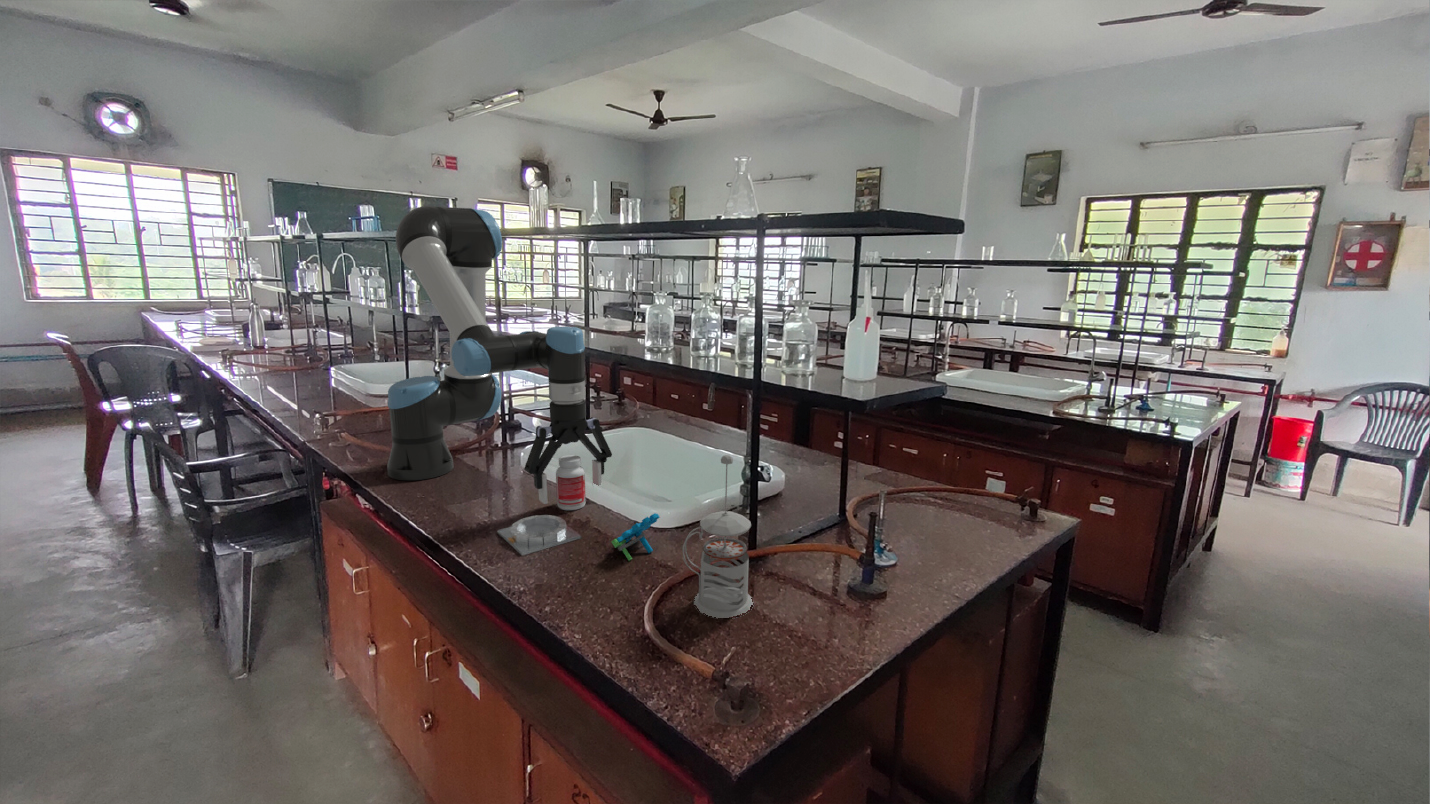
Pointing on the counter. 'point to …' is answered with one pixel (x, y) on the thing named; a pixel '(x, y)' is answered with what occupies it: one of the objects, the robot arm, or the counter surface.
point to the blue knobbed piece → (635, 531)
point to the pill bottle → (570, 483)
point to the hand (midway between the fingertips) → (571, 495)
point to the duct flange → (538, 533)
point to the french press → (723, 563)
